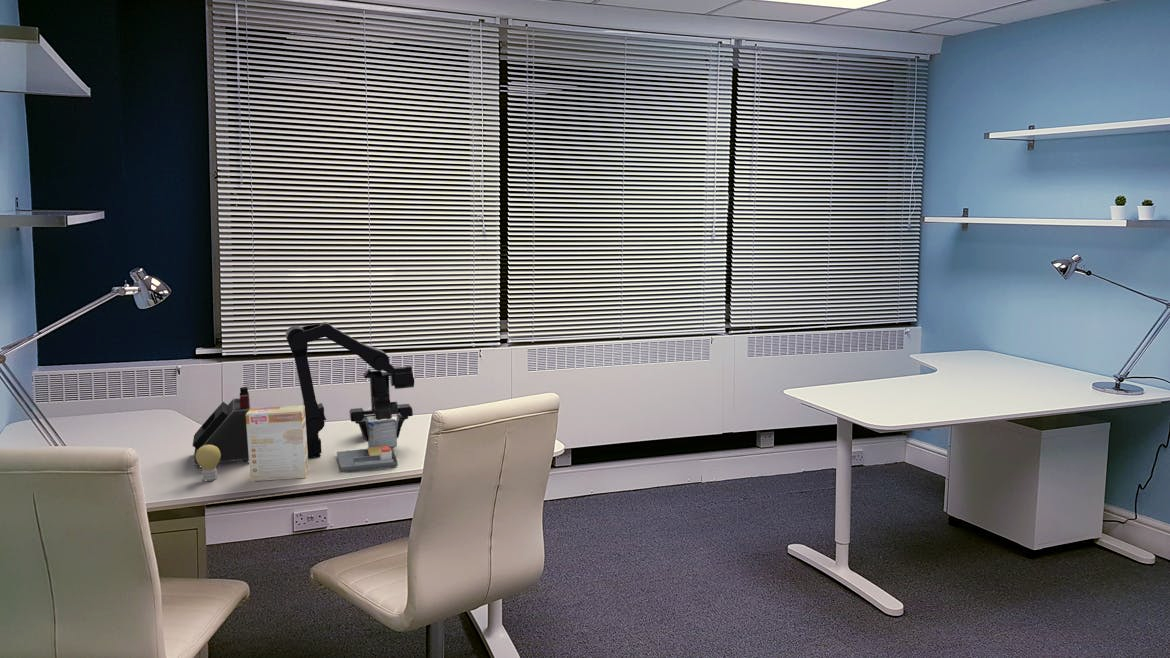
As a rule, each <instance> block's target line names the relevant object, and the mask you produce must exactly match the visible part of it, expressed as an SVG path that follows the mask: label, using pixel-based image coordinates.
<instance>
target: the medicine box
mask: <svg viewBox="0 0 1170 658" xmlns="http://www.w3.org/2000/svg"><path fill="white" fill-rule="evenodd" d="M396 420H397V419H394V418H391V419H381V420H373V421H368V422H367V430H368V441H367V448H368V447H378V446H389V447H391V448H394V447H397V446H398V438H397V428H396Z"/></svg>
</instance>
